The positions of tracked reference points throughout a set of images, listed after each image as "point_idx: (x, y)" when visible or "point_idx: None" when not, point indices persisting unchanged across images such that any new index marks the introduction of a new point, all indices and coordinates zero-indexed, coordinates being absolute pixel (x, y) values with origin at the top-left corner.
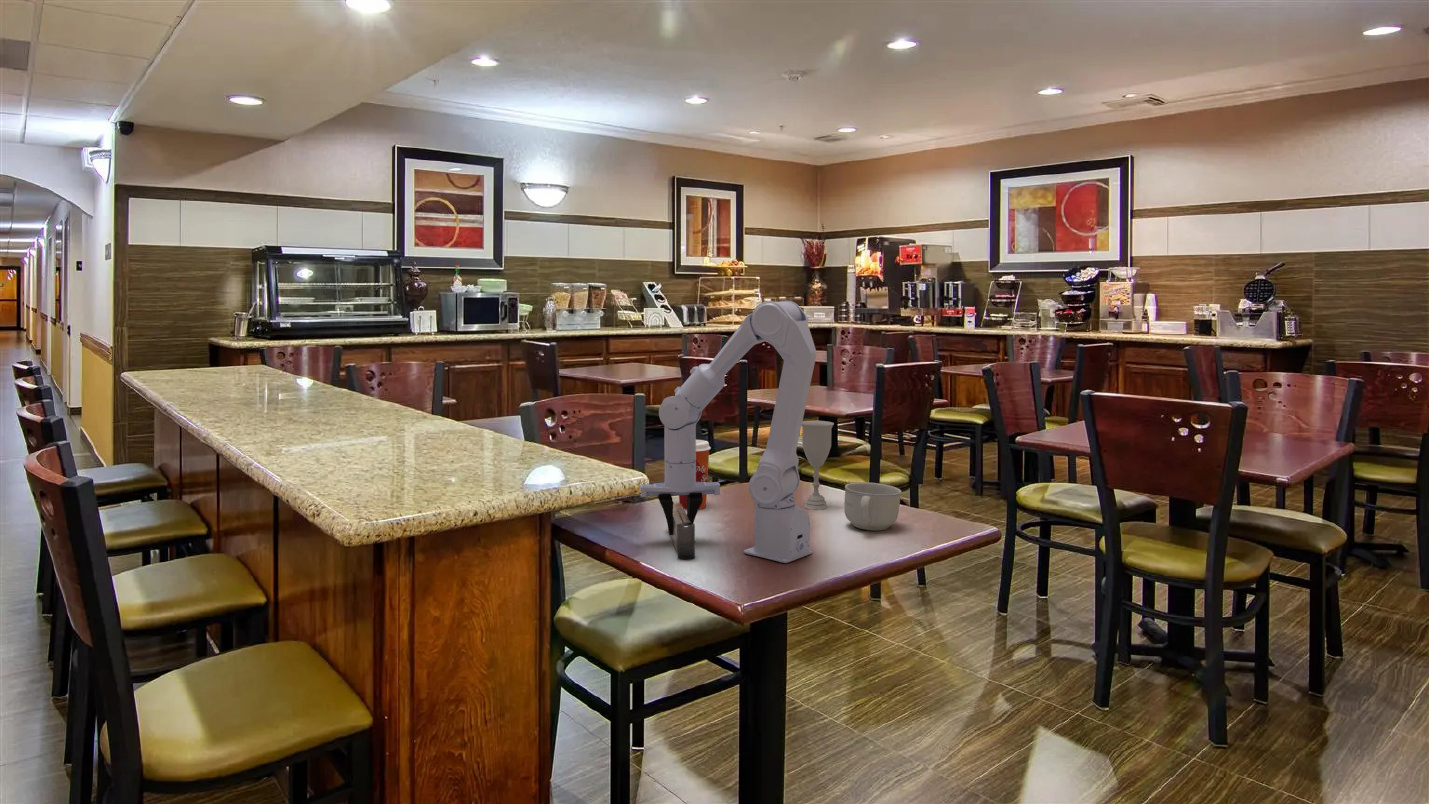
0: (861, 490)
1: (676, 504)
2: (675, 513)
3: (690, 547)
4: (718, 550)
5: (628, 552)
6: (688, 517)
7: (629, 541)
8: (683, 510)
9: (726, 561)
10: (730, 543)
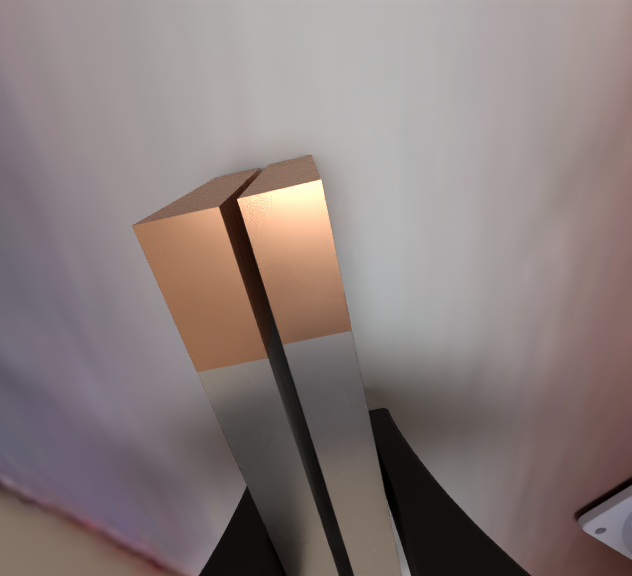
0: None
1: (266, 236)
2: (312, 573)
3: None
4: (490, 489)
5: (142, 531)
6: (404, 544)
7: (78, 418)
8: (367, 455)
9: None
10: (563, 411)
